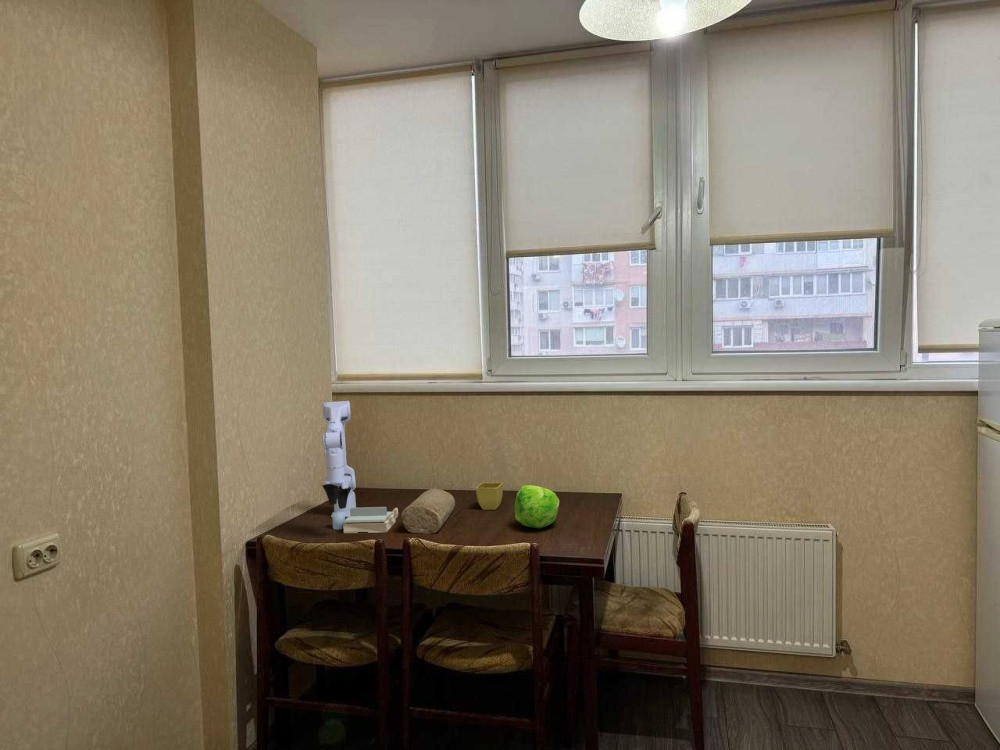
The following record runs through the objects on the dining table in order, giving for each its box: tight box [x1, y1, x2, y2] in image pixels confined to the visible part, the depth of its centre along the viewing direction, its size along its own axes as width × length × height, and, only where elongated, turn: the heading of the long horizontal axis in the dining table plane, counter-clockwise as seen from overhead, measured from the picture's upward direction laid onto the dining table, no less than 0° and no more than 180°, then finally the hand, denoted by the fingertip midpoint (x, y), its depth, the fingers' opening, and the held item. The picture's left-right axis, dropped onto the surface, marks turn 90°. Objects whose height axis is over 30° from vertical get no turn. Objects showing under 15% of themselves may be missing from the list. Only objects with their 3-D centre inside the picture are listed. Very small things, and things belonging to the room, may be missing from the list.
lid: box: [344, 506, 392, 524], centre depth 234 cm, size 10×14×4 cm
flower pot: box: [474, 482, 504, 511], centre depth 251 cm, size 9×9×9 cm
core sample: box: [400, 488, 456, 535], centre depth 235 cm, size 14×26×10 cm, turn 173°
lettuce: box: [514, 484, 560, 530], centre depth 225 cm, size 15×20×14 cm
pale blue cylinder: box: [331, 511, 347, 531], centre depth 235 cm, size 4×4×6 cm
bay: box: [343, 507, 399, 534], centre depth 237 cm, size 20×15×3 cm
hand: (337, 506), depth 226 cm, fingers open, 7 cm apart
